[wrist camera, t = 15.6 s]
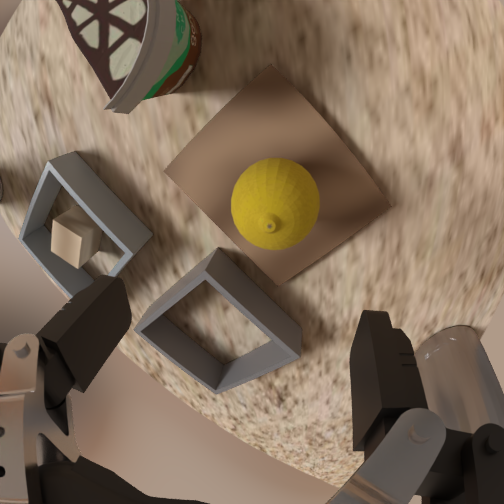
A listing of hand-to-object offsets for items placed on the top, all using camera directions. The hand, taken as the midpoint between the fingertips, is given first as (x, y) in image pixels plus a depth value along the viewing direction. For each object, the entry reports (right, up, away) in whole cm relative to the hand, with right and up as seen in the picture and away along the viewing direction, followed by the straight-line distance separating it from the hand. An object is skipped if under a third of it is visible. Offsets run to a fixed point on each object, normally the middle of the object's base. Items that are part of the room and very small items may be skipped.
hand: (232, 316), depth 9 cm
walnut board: (+3, +8, +14) cm, 16 cm away
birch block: (-17, +5, +19) cm, 26 cm away
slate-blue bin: (-17, +5, +19) cm, 26 cm away
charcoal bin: (-3, -5, +21) cm, 22 cm away
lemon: (+3, +7, +13) cm, 15 cm away
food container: (-5, +20, +9) cm, 22 cm away
